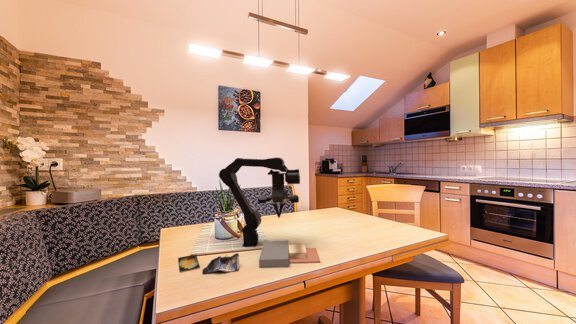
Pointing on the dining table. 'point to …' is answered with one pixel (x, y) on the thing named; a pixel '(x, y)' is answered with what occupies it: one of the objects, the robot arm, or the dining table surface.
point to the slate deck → (274, 254)
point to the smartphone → (188, 263)
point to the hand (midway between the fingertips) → (279, 217)
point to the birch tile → (297, 252)
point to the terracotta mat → (308, 257)
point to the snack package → (223, 264)
